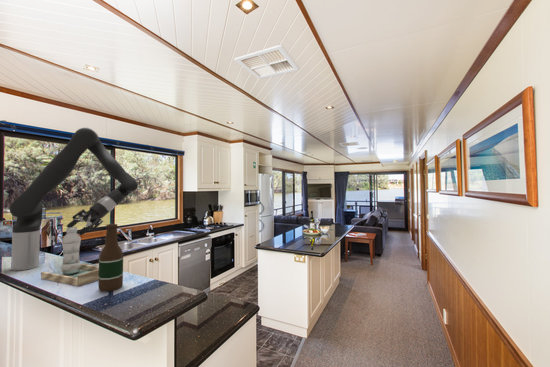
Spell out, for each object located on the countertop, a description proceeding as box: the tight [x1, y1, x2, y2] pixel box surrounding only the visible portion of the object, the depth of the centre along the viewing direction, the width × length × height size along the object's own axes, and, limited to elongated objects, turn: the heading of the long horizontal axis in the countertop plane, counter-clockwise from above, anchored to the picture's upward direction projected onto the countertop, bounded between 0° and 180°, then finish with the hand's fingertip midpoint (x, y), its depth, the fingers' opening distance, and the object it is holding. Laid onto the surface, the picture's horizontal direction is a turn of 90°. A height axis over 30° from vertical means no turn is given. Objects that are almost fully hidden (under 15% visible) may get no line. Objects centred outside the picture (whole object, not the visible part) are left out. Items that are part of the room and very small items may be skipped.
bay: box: [40, 262, 99, 287], centre depth 106 cm, size 24×14×4 cm, turn 70°
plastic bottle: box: [60, 226, 82, 275], centre depth 108 cm, size 6×7×20 cm
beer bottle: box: [97, 223, 124, 293], centre depth 94 cm, size 8×8×24 cm
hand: (73, 230), depth 117 cm, fingers open, 8 cm apart
